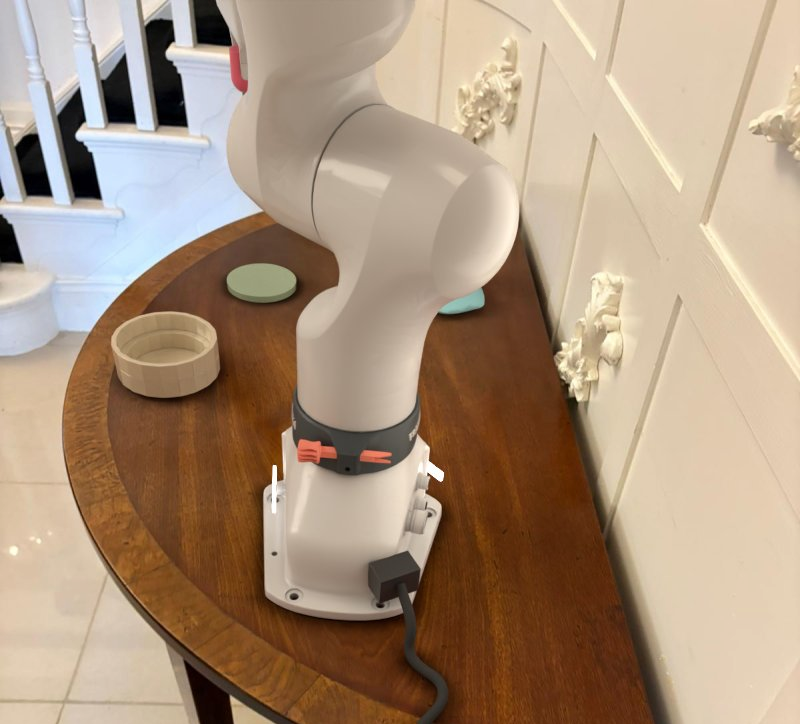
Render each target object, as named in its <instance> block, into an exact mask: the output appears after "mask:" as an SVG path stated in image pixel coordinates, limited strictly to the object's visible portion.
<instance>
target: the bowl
mask: <svg viewBox="0 0 800 724" xmlns="http://www.w3.org/2000/svg"><path fill="white" fill-rule="evenodd" d="M110 339H111V341H110V342H111V345H110V346H111V350H112V356H113V360H114V364H115V368H116V369H115V370H116V373H117V377H118V379H119V381H120V382H121V384H122V385H123V386H124V387H125V388H126V389H128V390H130V391H131V392H133V393H135V394H138V395H141V396H145V397H148V398H149V397H150V398H159V399H166V398H167V399H169V398H177V397H178V398H179V397H184V396H188V395H191V394H195V393H198V392H199V391H201V390H203V389H205V388H207V387H209V386H210V385H211V384H212V383H213V382H214V381H215V380H217V378H218V376H219V373H220V370H221V363H220V362H221V361H220V353H219V352H220V351H219V343H218V342H219V341H218V336H217V331H216V329H215V327H214V326H213V325H212V324H211V323H210V322H209V321H207V320H206V319H204V318H202V317H200V316H198V315H195V314H191V313H188V312H181V311H172V310H171V311H170V310H169V311H155V312H150V313H146V314H140V315H137V316H135V317H133V318H130V319H128V320H126V321H124V322H123V323H122V324H121V325H119V326H118V327H117V328H115V330H114V331H113V334H112V335H111V338H110Z"/></svg>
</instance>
